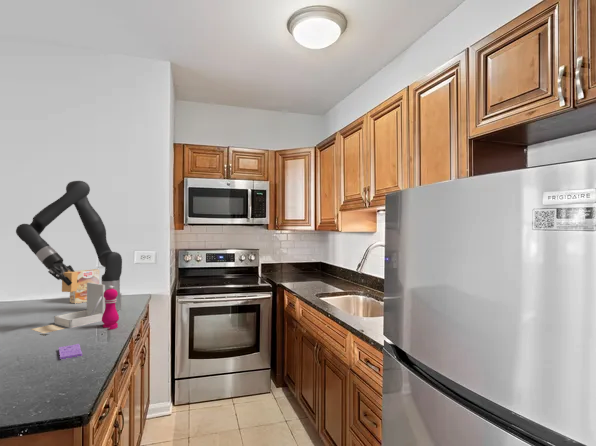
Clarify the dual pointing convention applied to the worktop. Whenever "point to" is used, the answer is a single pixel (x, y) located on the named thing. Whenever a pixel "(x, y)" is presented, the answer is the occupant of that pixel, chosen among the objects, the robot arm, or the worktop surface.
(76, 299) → the coffeecake box
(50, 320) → the worktop surface
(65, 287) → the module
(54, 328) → the board
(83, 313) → the equipment case
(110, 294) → the pepper mill
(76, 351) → the sponges
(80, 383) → the worktop surface
